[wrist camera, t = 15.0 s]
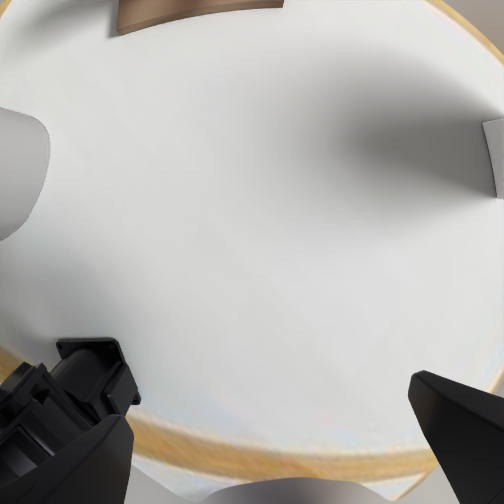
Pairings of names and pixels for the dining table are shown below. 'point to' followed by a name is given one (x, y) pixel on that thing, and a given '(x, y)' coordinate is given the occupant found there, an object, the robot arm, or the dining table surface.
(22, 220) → the lumpy-topped squat cylinder
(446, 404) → the robot arm
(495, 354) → the dining table surface
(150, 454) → the dining table surface
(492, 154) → the milk carton
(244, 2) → the walnut board
